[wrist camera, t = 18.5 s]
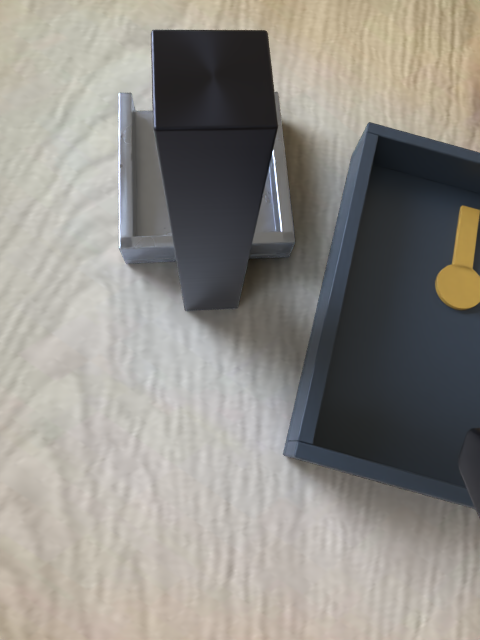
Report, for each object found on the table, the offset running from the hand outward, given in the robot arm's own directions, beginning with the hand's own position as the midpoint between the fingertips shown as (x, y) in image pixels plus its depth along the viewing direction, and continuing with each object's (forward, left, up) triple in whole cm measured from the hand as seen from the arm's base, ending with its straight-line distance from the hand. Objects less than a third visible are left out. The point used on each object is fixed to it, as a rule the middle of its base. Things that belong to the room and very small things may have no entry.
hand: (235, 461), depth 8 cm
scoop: (+10, +6, -10) cm, 15 cm away
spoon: (+13, -6, -10) cm, 18 cm away
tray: (+10, -7, -10) cm, 16 cm away
